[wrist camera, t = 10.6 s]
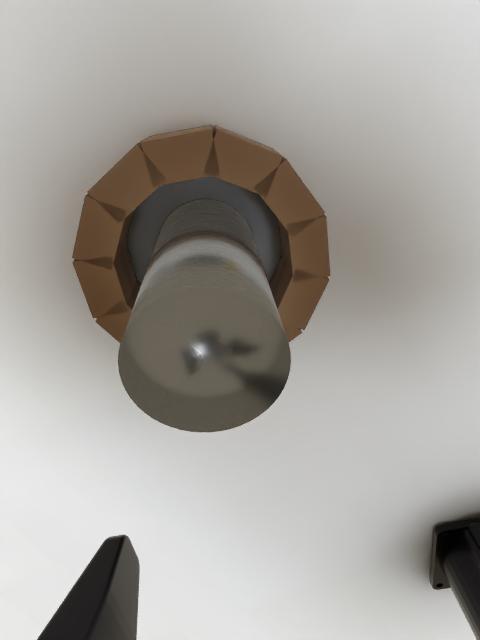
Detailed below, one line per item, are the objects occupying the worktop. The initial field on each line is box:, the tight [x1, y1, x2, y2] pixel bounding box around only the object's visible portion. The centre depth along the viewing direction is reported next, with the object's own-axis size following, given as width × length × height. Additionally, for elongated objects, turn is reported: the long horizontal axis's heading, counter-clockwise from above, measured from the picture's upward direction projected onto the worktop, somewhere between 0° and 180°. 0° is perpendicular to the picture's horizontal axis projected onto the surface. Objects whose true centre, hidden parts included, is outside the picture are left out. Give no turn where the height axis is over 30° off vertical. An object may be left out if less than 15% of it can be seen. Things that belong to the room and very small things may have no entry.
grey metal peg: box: [118, 199, 291, 432], centre depth 14 cm, size 4×4×9 cm
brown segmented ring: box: [72, 125, 330, 343], centre depth 17 cm, size 9×9×2 cm
